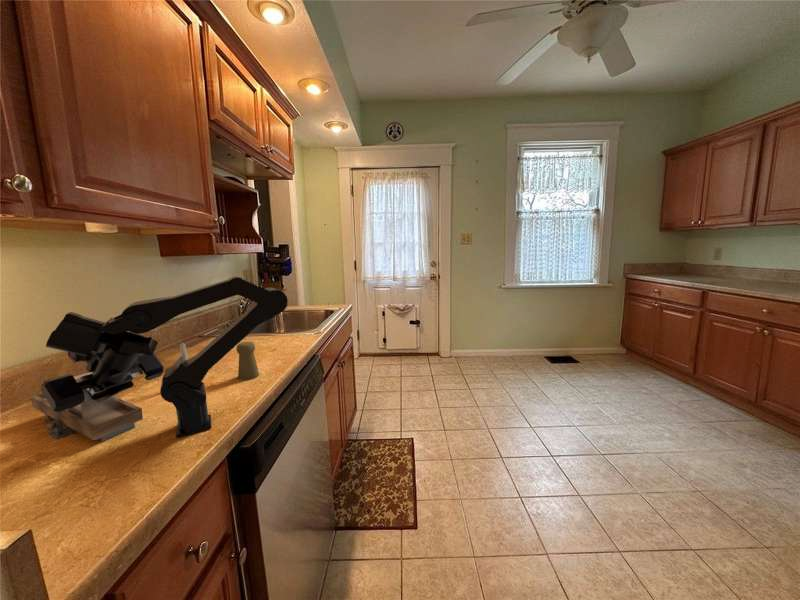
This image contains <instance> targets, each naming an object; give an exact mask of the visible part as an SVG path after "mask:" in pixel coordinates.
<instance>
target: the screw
mask: <svg viewBox="0 0 800 600" xmlns="http://www.w3.org/2000/svg"><path fill="white" fill-rule="evenodd" d="M179 346H180V347H179V349H180V357H181V356H182V357H183V358H184V359H185V360H188V359H189V356H188V355H189V354H188V350H187V348H186V343H184V342H182V343H180V344H179Z"/></svg>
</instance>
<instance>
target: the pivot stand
mask: <svg viewBox="0 0 800 600" xmlns="http://www.w3.org/2000/svg"><path fill="white" fill-rule="evenodd" d="M44 418H45V420H46V421H51V423H47V425H46V429H47V431H48V436H49V437H53V438H54V439H57V440H59V439H62V438H65V437H67V436H69V435H72V434H75V433H76V432H77V433H78V431H76V430H74V429H72V428H70V427H68V426H67V425H65V426H63V423H61V421H58V420H55V419H54V418H52V417H50V416H48V415H46V414H44ZM135 427H136V425H135V423H133V424H131V425H128V426H126V427H124V428H122V429H119V430H117V431H115V432H113V433H110V434H108V435H106V436H103V437H101V438H99V439H97V441H99V442H101V443H103V442H105V441H107V440H109V439H111V438H113V437H116V436H118V435H121V434H122V433H123V434H124V433H125V432H127V431H130V430H131V429H133V428H135Z"/></svg>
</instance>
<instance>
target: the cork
mask: <svg viewBox="0 0 800 600" xmlns="http://www.w3.org/2000/svg"><path fill="white" fill-rule="evenodd" d="M255 351H256V345H255V343H254V342H252V341H243V342H242V341H241V342H239V343H238V344H237V345H236V353H237V354H238V374H237V376H238V377H237V378H238V380H239V381H250V380H255V379H256V378H258V377H259V376H260V371H259V368H258V365H257V361H256V360H257V359H256V357H255Z"/></svg>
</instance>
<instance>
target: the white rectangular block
mask: <svg viewBox="0 0 800 600" xmlns="http://www.w3.org/2000/svg"><path fill="white" fill-rule="evenodd" d="M89 374H92V372H90V373H89V372H86V373H82V374H79V375H75V376H73V377H74V378H75V379H78V378H80V377H82V376H85V375H89ZM83 392H84V396H85V400H84V402H82V403H81V404H79V405H78V406H75V407H72V408H69V409H68V412H70V413H72V414H74V415H76V416H78V417H80V418H82V419H84V420H86V419H89V418H91V417H94V416H97V415H99V414H102V413H104V412H107V411H110V410H112V409H115V408H116V399H115V397H116V395H113V396H111V397H109V398H107V399H105V400H103V401H100V402H97V400H92V399H91V398H90V396H89V395H88V393H87V392H86V390H85V389H84V390H83Z"/></svg>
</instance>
